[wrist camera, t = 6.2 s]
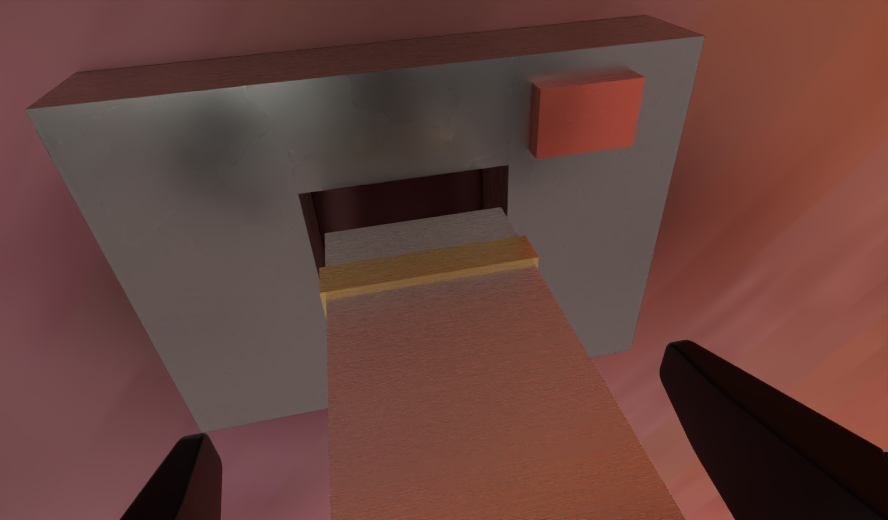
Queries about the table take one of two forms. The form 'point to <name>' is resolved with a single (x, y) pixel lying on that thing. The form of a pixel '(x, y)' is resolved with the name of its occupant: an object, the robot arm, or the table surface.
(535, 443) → the post
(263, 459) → the table surface
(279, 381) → the sleeve block
